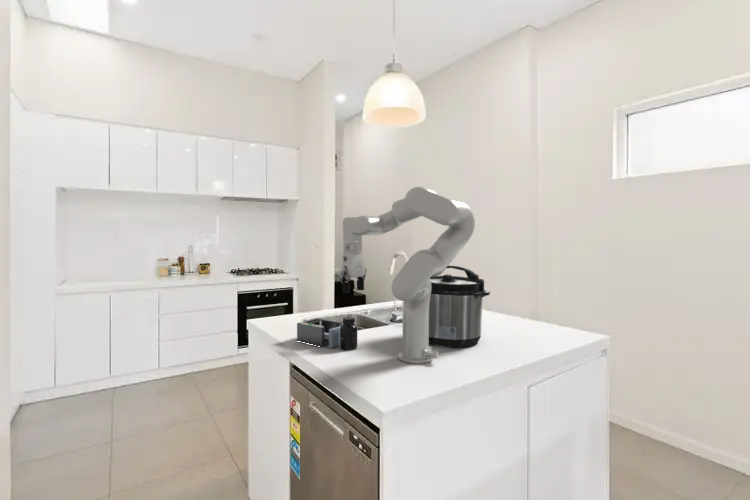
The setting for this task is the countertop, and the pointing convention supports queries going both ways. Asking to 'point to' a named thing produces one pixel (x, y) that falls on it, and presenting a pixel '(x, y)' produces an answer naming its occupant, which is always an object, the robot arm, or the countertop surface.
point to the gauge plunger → (331, 335)
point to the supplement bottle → (348, 334)
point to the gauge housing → (315, 331)
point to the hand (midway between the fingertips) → (353, 291)
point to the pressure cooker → (456, 309)
